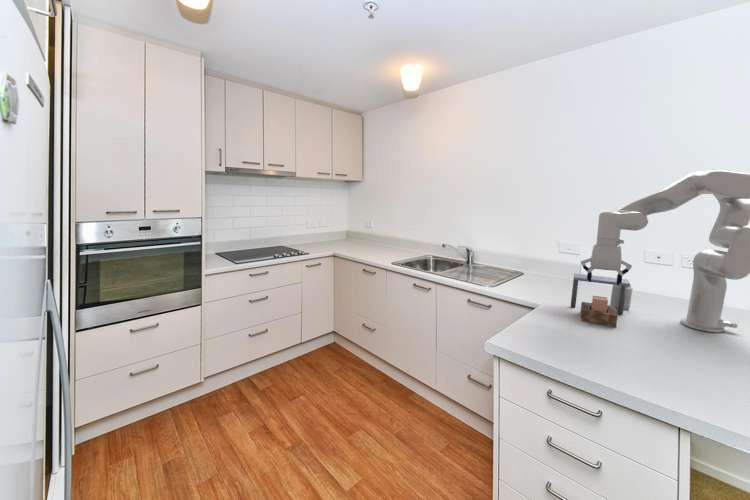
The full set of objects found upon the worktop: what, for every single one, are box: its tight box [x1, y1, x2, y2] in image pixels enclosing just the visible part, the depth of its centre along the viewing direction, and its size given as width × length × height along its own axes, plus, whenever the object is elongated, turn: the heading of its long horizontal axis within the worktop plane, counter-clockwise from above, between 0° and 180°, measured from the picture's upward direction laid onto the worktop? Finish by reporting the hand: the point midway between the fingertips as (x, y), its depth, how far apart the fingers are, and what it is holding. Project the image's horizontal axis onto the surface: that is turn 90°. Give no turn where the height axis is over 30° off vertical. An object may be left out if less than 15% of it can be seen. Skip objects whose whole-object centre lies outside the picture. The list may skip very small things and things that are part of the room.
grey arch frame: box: [569, 272, 631, 316], centre depth 145 cm, size 20×9×16 cm, turn 59°
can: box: [609, 283, 634, 311], centre depth 153 cm, size 8×8×12 cm
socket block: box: [580, 301, 619, 328], centre depth 139 cm, size 12×13×5 cm
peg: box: [591, 295, 609, 313], centre depth 137 cm, size 5×5×10 cm
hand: (603, 282), depth 135 cm, fingers open, 9 cm apart
